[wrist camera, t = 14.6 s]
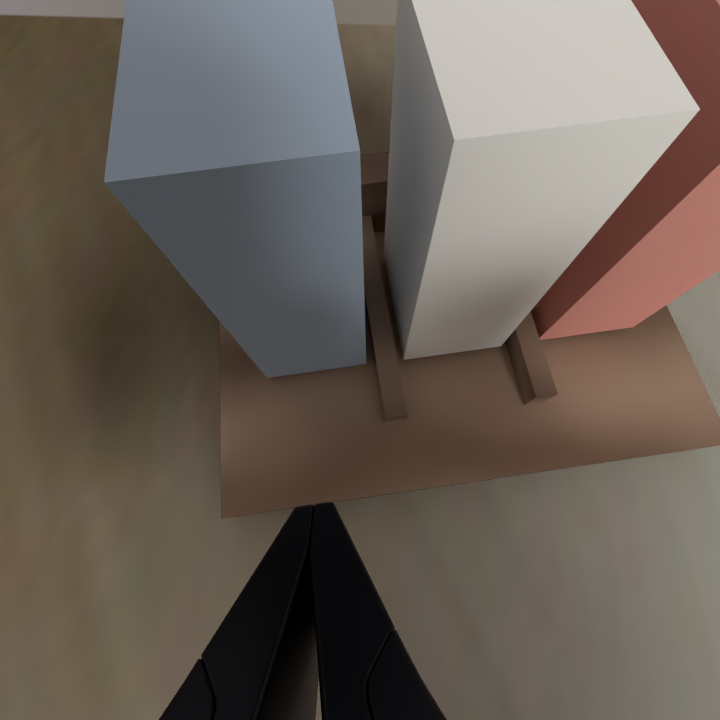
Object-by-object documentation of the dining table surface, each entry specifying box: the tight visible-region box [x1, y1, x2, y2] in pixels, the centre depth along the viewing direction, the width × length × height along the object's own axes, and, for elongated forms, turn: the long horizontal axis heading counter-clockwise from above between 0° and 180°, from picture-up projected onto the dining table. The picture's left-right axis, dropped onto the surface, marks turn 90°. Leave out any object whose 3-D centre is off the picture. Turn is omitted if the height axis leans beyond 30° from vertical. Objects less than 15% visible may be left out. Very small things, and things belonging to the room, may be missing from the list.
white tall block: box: [384, 0, 700, 360], centre depth 12 cm, size 5×4×10 cm
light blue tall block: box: [104, 0, 366, 378], centre depth 12 cm, size 5×4×10 cm
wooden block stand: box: [219, 152, 720, 518], centre depth 16 cm, size 13×19×4 cm
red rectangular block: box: [531, 0, 720, 340], centre depth 12 cm, size 5×4×10 cm
